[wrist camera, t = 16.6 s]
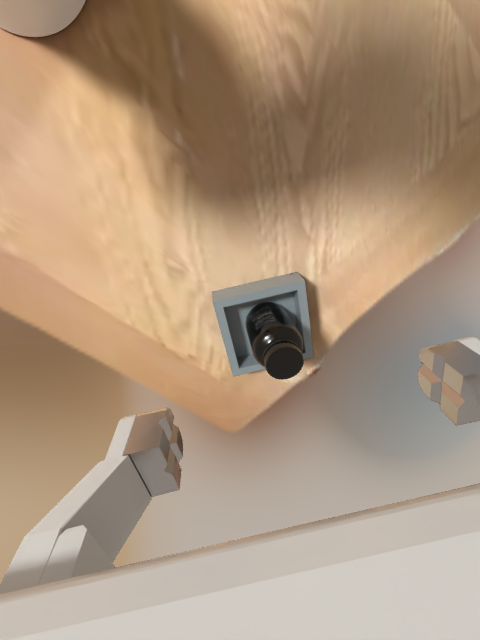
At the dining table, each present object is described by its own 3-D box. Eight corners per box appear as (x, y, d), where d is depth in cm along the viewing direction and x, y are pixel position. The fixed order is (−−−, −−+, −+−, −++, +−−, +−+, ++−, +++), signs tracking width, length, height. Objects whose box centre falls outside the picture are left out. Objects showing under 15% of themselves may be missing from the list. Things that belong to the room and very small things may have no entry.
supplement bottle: (243, 339, 48) (253, 386, 37) (247, 299, 45) (259, 337, 34) (284, 340, 49) (306, 386, 38) (291, 301, 46) (317, 339, 35)
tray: (212, 291, 45) (212, 301, 41) (297, 271, 45) (304, 280, 41) (231, 362, 51) (233, 376, 47) (306, 344, 51) (314, 357, 47)
